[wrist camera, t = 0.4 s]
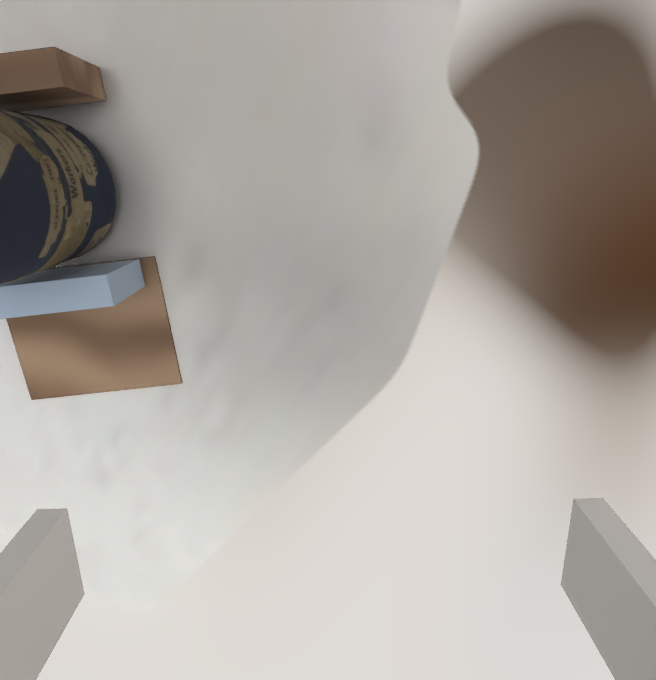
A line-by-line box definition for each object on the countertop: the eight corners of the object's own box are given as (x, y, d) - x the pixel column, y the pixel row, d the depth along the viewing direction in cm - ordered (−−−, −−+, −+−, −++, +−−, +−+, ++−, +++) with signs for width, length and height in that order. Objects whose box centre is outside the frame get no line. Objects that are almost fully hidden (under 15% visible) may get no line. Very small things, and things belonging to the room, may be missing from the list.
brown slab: (-64, 87, 35) (-141, 71, 29) (114, 65, 34) (72, 44, 29) (32, 398, 42) (-14, 435, 36) (182, 382, 41) (159, 416, 36)
